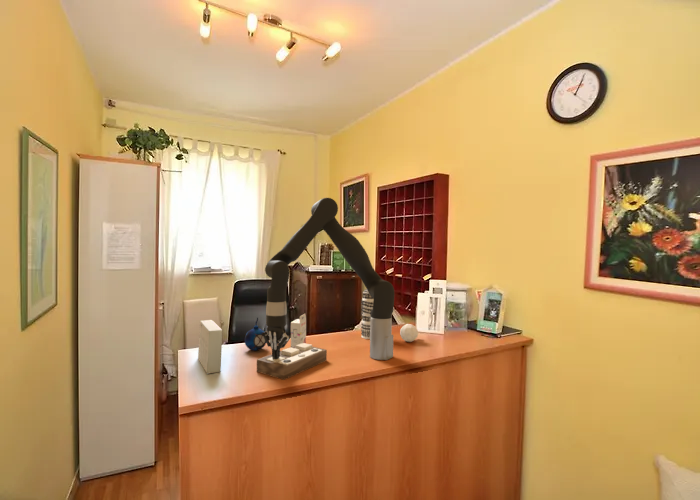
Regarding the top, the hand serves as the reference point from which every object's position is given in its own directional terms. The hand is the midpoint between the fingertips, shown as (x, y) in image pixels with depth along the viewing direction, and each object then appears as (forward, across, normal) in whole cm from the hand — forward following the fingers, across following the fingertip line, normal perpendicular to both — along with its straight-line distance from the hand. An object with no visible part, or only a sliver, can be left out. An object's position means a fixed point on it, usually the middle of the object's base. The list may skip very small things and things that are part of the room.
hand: (275, 358), depth 130 cm
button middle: (+2, 0, -8) cm, 8 cm away
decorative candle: (+5, -5, -63) cm, 63 cm away
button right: (+2, 0, -16) cm, 16 cm away
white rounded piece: (+5, -26, -69) cm, 74 cm away
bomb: (+5, +25, -13) cm, 29 cm away
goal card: (0, -6, -8) cm, 10 cm away
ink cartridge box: (+5, +15, -30) cm, 34 cm away
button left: (+3, 0, 0) cm, 3 cm away
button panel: (+5, -2, -8) cm, 9 cm away
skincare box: (+5, +26, +10) cm, 29 cm away
